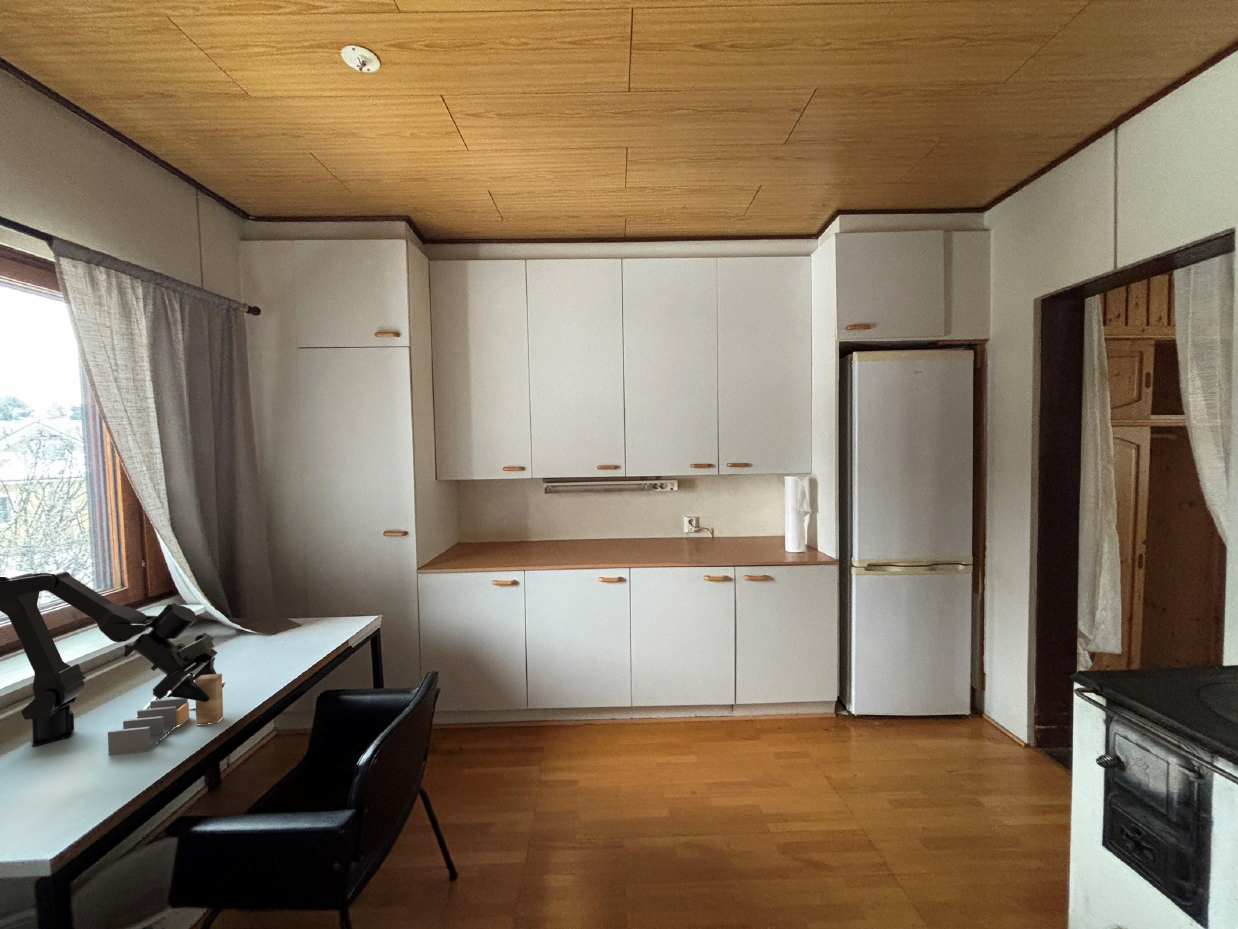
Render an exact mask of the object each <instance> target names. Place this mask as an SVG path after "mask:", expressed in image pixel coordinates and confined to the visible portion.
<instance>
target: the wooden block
mask: <svg viewBox="0 0 1238 929" xmlns="http://www.w3.org/2000/svg"><path fill="white" fill-rule="evenodd" d="M222 681H223V674H222V673H217V674H210V675H201V676H199V677H198V678H197V679H195V680H194V682H195V683H196V684H197V685H198V686H199V687H200V688H201V689H202V690H203V691H204V692H205V693H206V694H207V695H208V696H209V697H210V699H209V700H208V701H207V702H202V701H197V700H195V707H196V710H195V721H196V724H208V723H218V721H219V720H220V719H221V718H222V717H223V718H224V702H223V701H224V700H223V698H224V697H223V688H222ZM196 724H195V725H196ZM218 724H219V723H218ZM208 725H209V724H208Z"/></svg>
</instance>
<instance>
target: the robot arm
mask: <svg viewBox="0 0 1238 929" xmlns="http://www.w3.org/2000/svg"><path fill="white" fill-rule="evenodd" d="M45 591H46V592H49V593H51V594H52V595H53V596H56V597H57V598H58V599H60V600H61V601H63V602H65V603H67V605H70V606H71V607H73V608H74V609H75V610H78V611H79V612H81V613H82V614H84V615H86V616H87V617H89V618H90V619H92V620H93V621H94V623H96V625H97V627H98V630H99V631H100V632H101V633H102V634H104V636H105V637H107V638H108V639H109V640H111V641H112V642H113V643H123V642H124V643H125V642H126V641H129V640H131V639H133V638H135V637H137V636H138V637H137V639H135V640H134V641H130V642H128V643H126V644H125V645H124V654H123V656H124V657H125V658H128V657H129V656H131V655H133V654H135V653H137V654H138V655H140V656H141V657H142V658H143V659H145V660H146V661H147V662H149V663H150V664H151V665H152V666H151V667H150V670H152V671H153V672H154V671H156V670H159V671H161V673H162V674H164V675H165V676H164V677H163V678H162V680H160V681H159V682H158V683H157V685H155V686H154V688H152V696H154V697H156V698H157V700H163V699H164V698H165V697H164V696H166V695H167V694H168V691H169V690H170V691H171V693H170V694H169V695H168V696H167V697H166V698H167V699H170V698H185V699H188V700H193V701H196V700H197V701H202V702H207V701H208V700H209V699H210V697H209V696H208V695H207V694H206V693H205V692H204V691H203V690H202V689H201V688H200V687H199V686H198V685H197V684H196V683H195V679H197V678H198V677H199V676H201V675H210V674H218V673H217V672H216V670H215V668H214V667H215V666H214V664H215V661H216V657H215V656H216V655H217V654H218V651H217V650H215V649H214V647H215V645H214V643H213V642H214V638H215V637H214V636H211V635H210V634H208V633H206V632H202V633H201V634H198V635H197V636H195V638H194V642H191V643H190V644H188V645H185V644H184V643H178V644H175V643H174V642H172V639H173V640H175V639H177V638H179V637H180V636H181V635H182V634H183V633H184V632H185V631H186V630H187V629H188V628H190V626H192V624H194V622H195V621H196V620H197V619H198V618H197V615H196V613H195V612H194V610H192V609H191V608H190V607H187V606H183V605H181V604H176V603H175V601H174V602H170V603H168V604H167V605H166V606H165V607H164V608H163V609H162V611H161V612H160V613H159V614H158V615H148V614H147V615H146V614H145V613H144V612H142V611H140V610H137V609H134V608H133V607H130V606H125V605H120V604H117V603H115V602H113V601H111V600H109V599H108V598H106V597H105V596H103V595H101V594H100V593H98V592H97V591H95V590H94V589H92V588H91V587H89V586H87V585H86V584H84V583H83V582H81V581H79V580H78V579H77V578H75V577H73V576H72V575H71V574H70V572H68V571H66V570H64V569H63V570H61V569H59V570H54V571H44V572H35V573H32V572H28V571H24V570H19V571H14V572H11V573H6V574H3V575H0V612H1V613H3V614H4V615H6V617H8V620H9V621H10V624H11V625H12V628H13V629H14V630H13V631H14V632H15V635H16V636H17V638H18V640H19V642H20V645H21V647H22V649H23V651H24V654H25V655H26V657H27V659H28V662H29V663H30V666H31V668H32V671H33V672H34V677H33V683H32V693H33V696H34V698H33V699H32V701H30V702H29V703H28V704H27V705H26V706H25V707H24V708H23V709H22V710H20V711H21V712H20V713H21V715H22V717H23V718H24V720H25V721H26V720H31V732H32V735H31V746H32V747H36V746H40V745H43V744H47V743H51V742H55V741H58V740H59V741H60V740H61V739H62V740H63V739H66V738H70V737H72V736H73V731H74V732H75V714H74V710H72V709H71V706H70V705H72V704H74V703H76V702H77V698H78V696H79V695H80V694H81V693H82V691H83V689H84V688H85V684H86V683H85V681H84V680H86V678H87V677H86V676H84V674H83V673H82V671H81V666H80V664H78V663H76V664H73V665H69V664H68V663H66V662H65V661H63V658H62V656H61V655H60V652H59V649H58V648H57V645H56V644H55V641H54V639H53V637H52V635H51V633H50V630H49V629H48V626H47V624H46V622H45V620H44V618H43V615H42V613H41V611H40V610H39V606H38V602H39V596H40V592H45ZM150 629H151V630H150ZM149 630H150V631H149ZM146 631H149V632H147V633H146ZM144 632H145V633H144ZM139 635H140V636H139ZM170 639H171V640H170ZM224 687H225V686H224V684H223V683H222V689H223V688H224ZM163 697H164V698H163Z"/></svg>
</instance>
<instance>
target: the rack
mask: <svg viewBox="0 0 1238 929" xmlns="http://www.w3.org/2000/svg"><path fill="white" fill-rule="evenodd" d="M151 700H152V699H151ZM151 700H150V701H151ZM150 701H149V702H150ZM189 708H190V703H189V699H185V698H177V697H173V698H165V699H164V698H162V699H160V700H159V699H157V700H152V701H151V702H150V707H149V708H148V709H143V708H141V709H138V710H137V711H136V712H137V715H136V716H137V719H135V718H130V719H129V718H128V719H124V720H122V724H123V726H122V729H113V730H109V731H107V747H108V756H113V755H124V754H133V753H141V752H143V753H144V752H148V751H147V750H149V751H151V750H152V749H153V748H154V747H155V746H157V744H156V743H157V742H159V741H160V739H162V738H163V737H164V736H165V735H166V734H168V732H170V731H171V730H172V729H173V728H174V727H176V726H177V725H180V724H182V723H183V722H184V721H186V720H187V719H188V718H189V719H190V711H189ZM189 719H188V720H189ZM188 720H187V721H188ZM187 721H186V722H187ZM182 725H183V724H182ZM176 728H177V727H176ZM170 733H171V732H170ZM168 735H169V734H168ZM163 739H164V738H163ZM163 739H162V740H163ZM160 742H161V741H160ZM160 742H159V743H160ZM154 745H155V746H154ZM153 746H154V747H153ZM152 747H153V748H152ZM151 748H152V749H151ZM150 749H151V750H150Z"/></svg>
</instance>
